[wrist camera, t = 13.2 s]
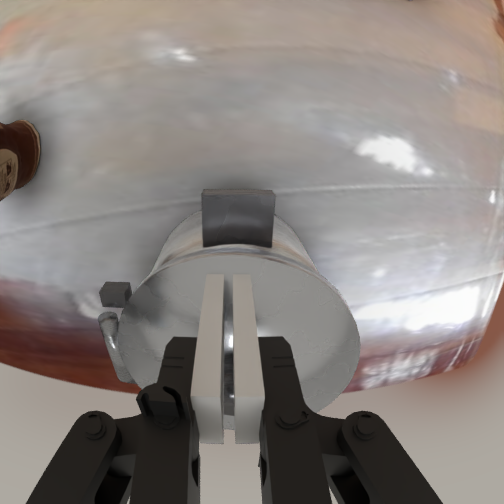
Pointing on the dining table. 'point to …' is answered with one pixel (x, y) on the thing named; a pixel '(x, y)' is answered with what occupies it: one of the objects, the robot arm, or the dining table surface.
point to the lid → (266, 313)
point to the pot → (223, 234)
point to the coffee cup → (17, 155)
